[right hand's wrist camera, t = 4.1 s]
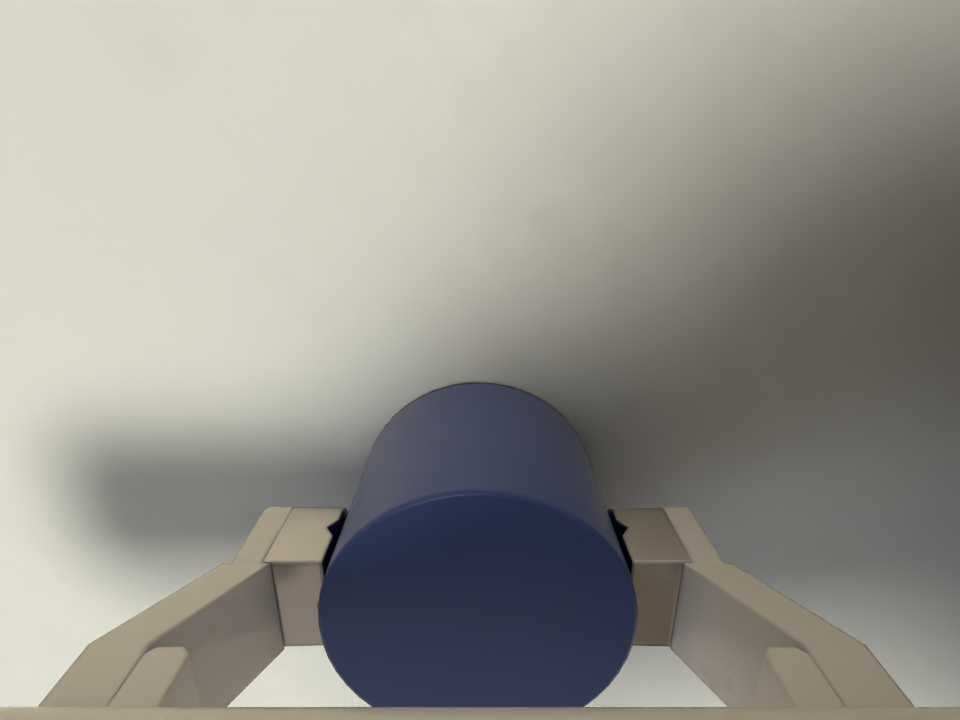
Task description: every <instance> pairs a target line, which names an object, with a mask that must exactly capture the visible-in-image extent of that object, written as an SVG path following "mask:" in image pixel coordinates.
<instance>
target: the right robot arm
mask: <svg viewBox="0 0 960 720" xmlns="http://www.w3.org/2000/svg"><path fill="white" fill-rule="evenodd" d="M608 514H609V517H610V520H611V522H612V525H613V528H614V531H615V533H616V536H617V539H618V542H619V544H620V547H621V550H622V553H623V555H624V558H625V561H626V564H627V566H628V569H629V572H630V575H631V578H632V581H633V584H634V588H635V591H636V597H637V605H638V617H637V628H636V633H635V637H634V642H633V645H642V646H671V650H672V651H673V652H674V653H675V654H676V655H677V656H678V657H679V658H680V659H681V660H682V661H683V662H684V663H685V664H686V665H687V666H688V667H689V668H690V669H691V670H692V671H693V672H694V673H695V674H696V675H697V676H698V677H699V678H700V679H701V680H702V681H703V682H704V683H705V684H706V685H707V686H708V687H709V688H710V689H711V690H712V691H713V692H714V693H715V694H716V695H717V696H718V697H719V698H720V699H721V700H722V701H723V702H724V703H725V704H726V705H727V706H728V707H227V706H228V705H229V704H230V703H231V702H232V701H233V700H234V699H235V698H236V697H237V696H238V695H239V694H240V693H241V692H242V691H243V690H244V689H245V688H246V687H247V686H248V685H249V684H250V683H251V682H252V681H253V680H254V679H255V678H256V677H257V676H258V675H259V674H260V673H261V672H262V671H263V670H264V669H265V668H266V667H267V666H268V665H269V664H270V663H271V662H272V661H273V660H274V659H275V658H276V657H277V656H278V655H279V654H280V653H281V652H282V651H283V650H284V646H312V645H323V643H322V638H321V634H320V629H319V623H318V602H319V594H320V589H321V586H322V583H323V579H324V576H325V573H326V571H327V568H328V565H329V563H330V560H331V557H332V555H333V552H334V549H335V547H336V544H337V541H338V539H339V536H340V533H341V531H342V528H343V525H344V523H345V520H346V518H347V515H348V511H347V509H346V508H322V507H295V508H294V507H269V508H267V509H265V510H264V512H263V513H262V515H261V516H260V518H259V520H258V521H257V523H256V524H255V526H254V527H253V529H252V531H251V532H250V534H249V535H248V537H247V539H246V540H245V542H244V543H243V545H242V547H241V548H240V550H239V551H238V553H237V555H236V556H235V558H234V559H233V561H232V563H223V564H221V565H219V566H218V567H216V568H214V569H213V570H211V571H209V572H208V573H206V574H204V575H203V576H201V577H199V578H198V579H196V580H194V581H193V582H191V583H189V584H188V585H186V586H185V587H183V588H181V589H180V590H178V591H176V592H175V593H173V594H171V595H170V596H168V597H166V598H165V599H163V600H161V601H160V602H158V603H156V604H155V605H153V606H151V607H150V608H148V609H146V610H145V611H143V612H141V613H140V614H138V615H136V616H135V617H133V618H132V619H130V620H128V621H127V622H125V623H123V624H122V625H120V626H118V627H117V628H115V629H113V630H112V631H110V632H108V633H107V634H105V635H103V636H102V637H100V638H98V639H97V640H95V641H93V642H92V643H90V644H89V645H88V646H87V647H86V648H85V649H84V651H83V652H82V653H81V654H80V656H79V657H78V658H77V659H76V660H75V662H74V663H73V664H72V665H71V667H70V668H69V669H68V670H67V671H66V673H65V674H64V675H63V676H62V678H61V679H60V680H59V681H58V682H57V684H56V685H55V686H54V687H53V689H52V690H51V691H50V692H49V693H48V695H47V696H46V697H45V698H44V700H43V701H42V702H41V703H40V704H39V706H38V707H0V720H960V707H915V706H914V705H913V704H912V703H911V701H910V700H909V699H908V698H907V696H906V695H905V694H904V693H903V691H902V690H901V689H900V688H899V686H898V685H897V684H896V683H895V681H894V680H893V679H892V678H891V676H890V675H889V674H888V673H887V671H886V670H885V669H884V668H883V666H882V665H881V664H880V663H879V661H878V660H877V659H876V657H875V656H874V655H873V654H872V652H871V651H870V650H869V649H868V647H867V646H866V645H864V644H863V643H861V642H860V641H858V640H856V639H855V638H853V637H851V636H850V635H848V634H846V633H845V632H843V631H842V630H840V629H838V628H837V627H835V626H833V625H832V624H830V623H828V622H827V621H825V620H824V619H822V618H820V617H819V616H817V615H815V614H814V613H812V612H810V611H809V610H807V609H806V608H804V607H802V606H801V605H799V604H797V603H796V602H794V601H792V600H791V599H789V598H788V597H786V596H784V595H783V594H781V593H779V592H778V591H776V590H774V589H773V588H771V587H770V586H768V585H766V584H765V583H763V582H761V581H760V580H758V579H756V578H755V577H753V576H752V575H750V574H748V573H747V572H745V571H743V570H742V569H740V568H738V567H737V566H735V565H734V564H732V563H723V562H722V560H721V558H720V557H719V555H718V554H717V552H716V550H715V549H714V547H713V546H712V544H711V542H710V541H709V539H708V537H707V536H706V534H705V533H704V531H703V529H702V528H701V526H700V525H699V523H698V521H697V520H696V518H695V517H694V515H693V513H692V512H691V510H690V509H689V508H687V507H660V508H617V509H608Z"/></svg>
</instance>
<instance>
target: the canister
mask: <svg viewBox="0 0 960 720" xmlns="http://www.w3.org/2000/svg"><path fill="white" fill-rule="evenodd" d="M637 617H638V605H637V597H636V591H635V588H634V584H633V581H632V578H631V575H630V572H629V569H628V566H627V564H626V561H625V558H624V555H623V553H622V550H621V547H620V544H619V542H618V539H617V536H616V533H615V531H614V528H613V525H612V522H611V520H610V517H609V514H608V511H607V509H606V506H605V503H604V501H603V498H602V495H601V492H600V490H599V487H598V484H597V481H596V479H595V476H594V473H593V470H592V468H591V465H590V462H589V459H588V457H587V454H586V451H585V449H584V446H583V444H582V442H581V440H580V438H579V436H578V435H577V433H576V432H575V430H574V429H573V427H572V426H571V425H570V424H569V423H568V422H567V420H566V419H565V418H564V417H563V416H562V415H561V414H560V413H558V412H557V411H556V410H555V409H554V408H552V407H551V406H550V405H548V404H547V403H545V402H543V401H542V400H540V399H539V398H537V397H535V396H532V395H530V394H528V393H526V392H523V391H520V390H517V389H514V388H511V387H506V386H501V385H495V384H481V383H476V384H462V385H456V386H451V387H446V388H443V389H440V390H437V391H433V392H431V393H429V394H427V395H424V396H422V397H420V398H418V399H417V400H415V401H413V402H412V403H410V404H409V405H407V406H406V407H404V408H403V409H402V410H401V411H400V412H398V413H397V414H396V415H395V416H394V417H393V418H392V419H391V420H390V421H389V422H388V424H387V425H386V426H385V427H384V429H383V430H382V432H381V433H380V435H379V436H378V438H377V440H376V442H375V444H374V446H373V448H372V451H371V454H370V456H369V459H368V462H367V464H366V467H365V470H364V472H363V475H362V478H361V480H360V483H359V486H358V488H357V491H356V494H355V496H354V499H353V502H352V504H351V507H350V510H349V512H348V515H347V518H346V520H345V523H344V525H343V528H342V531H341V533H340V536H339V539H338V541H337V544H336V547H335V549H334V552H333V555H332V557H331V560H330V563H329V565H328V568H327V571H326V573H325V576H324V579H323V583H322V586H321V589H320V594H319V602H318V623H319V629H320V634H321V638H322V643H323V646H324V648H325V651H326V653H327V656H328V658H329V660H330V662H331V663H332V665H333V667H334V668H335V670H336V672H337V673H338V674H339V676H340V677H341V678H342V680H343V681H344V682H345V683H346V685H347V686H348V687H349V688H350V689H351V690H352V691H353V692H354V693H356V694H357V695H358V696H359V697H360V698H361V699H362V700H364V701H365V702H366V703H368V704H369V705H370V706H372V707H584V706H586V705H587V704H588V703H590V702H591V701H592V700H594V699H595V698H596V697H597V696H598V695H599V694H600V693H601V692H602V691H604V690H605V689H606V688H607V687H608V686H609V684H610V683H611V682H612V681H613V679H614V678H615V677H616V676H617V674H618V673H619V672H620V670H621V668H622V666H623V665H624V663H625V661H626V660H627V658H628V655H629V653H630V650H631V648H632V645H633V642H634V637H635V633H636V628H637Z"/></svg>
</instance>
